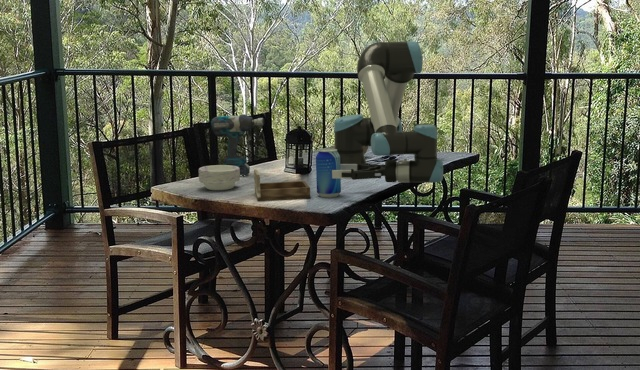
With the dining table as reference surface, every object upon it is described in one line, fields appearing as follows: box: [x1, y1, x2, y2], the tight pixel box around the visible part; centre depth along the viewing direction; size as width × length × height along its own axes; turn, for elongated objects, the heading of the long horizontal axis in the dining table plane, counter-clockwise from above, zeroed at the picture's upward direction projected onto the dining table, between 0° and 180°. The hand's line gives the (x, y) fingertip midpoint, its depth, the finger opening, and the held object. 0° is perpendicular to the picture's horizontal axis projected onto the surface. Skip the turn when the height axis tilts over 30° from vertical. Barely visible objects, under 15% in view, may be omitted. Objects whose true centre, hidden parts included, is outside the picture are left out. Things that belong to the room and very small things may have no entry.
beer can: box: [315, 148, 342, 198], centre depth 272 cm, size 8×8×16 cm
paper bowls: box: [198, 164, 241, 191], centre depth 293 cm, size 15×15×8 cm
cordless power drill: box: [210, 113, 265, 177], centre depth 320 cm, size 8×23×25 cm, turn 78°
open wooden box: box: [253, 168, 311, 202], centre depth 274 cm, size 18×14×9 cm
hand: (335, 171), depth 271 cm, fingers open, 13 cm apart
